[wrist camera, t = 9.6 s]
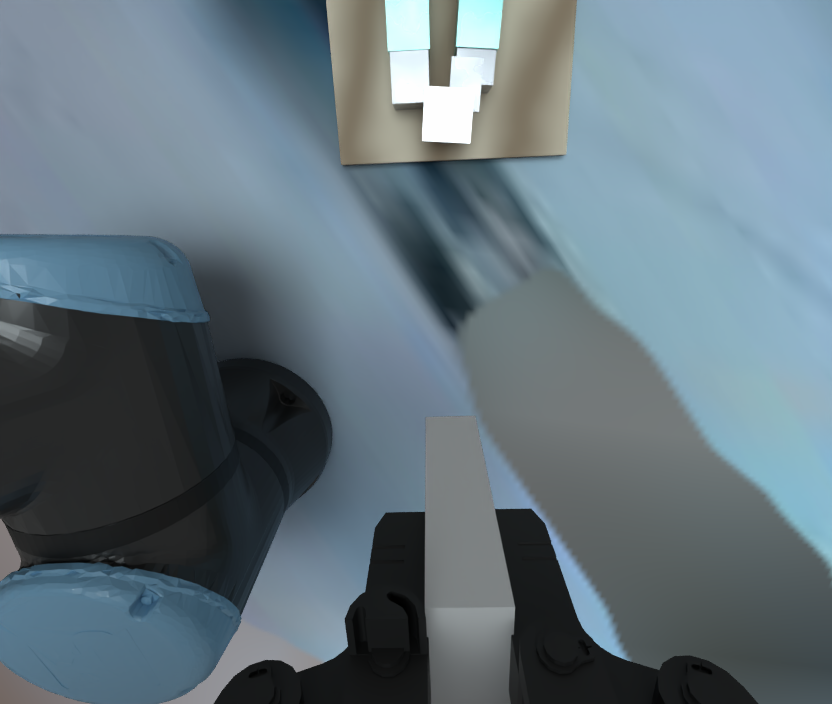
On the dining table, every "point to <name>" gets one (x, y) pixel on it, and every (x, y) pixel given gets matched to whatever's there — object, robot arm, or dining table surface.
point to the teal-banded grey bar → (408, 51)
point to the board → (499, 109)
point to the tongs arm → (464, 73)
